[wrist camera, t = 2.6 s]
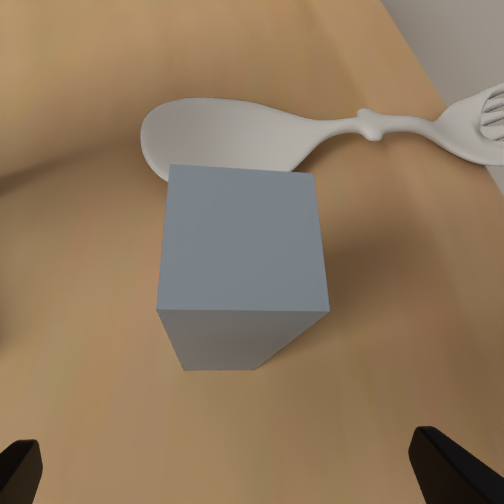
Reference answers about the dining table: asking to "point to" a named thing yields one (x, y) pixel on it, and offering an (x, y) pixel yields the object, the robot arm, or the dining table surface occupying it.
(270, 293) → the blue-grey rectangular block
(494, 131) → the spoon
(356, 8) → the dining table surface
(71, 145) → the dining table surface
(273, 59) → the dining table surface
